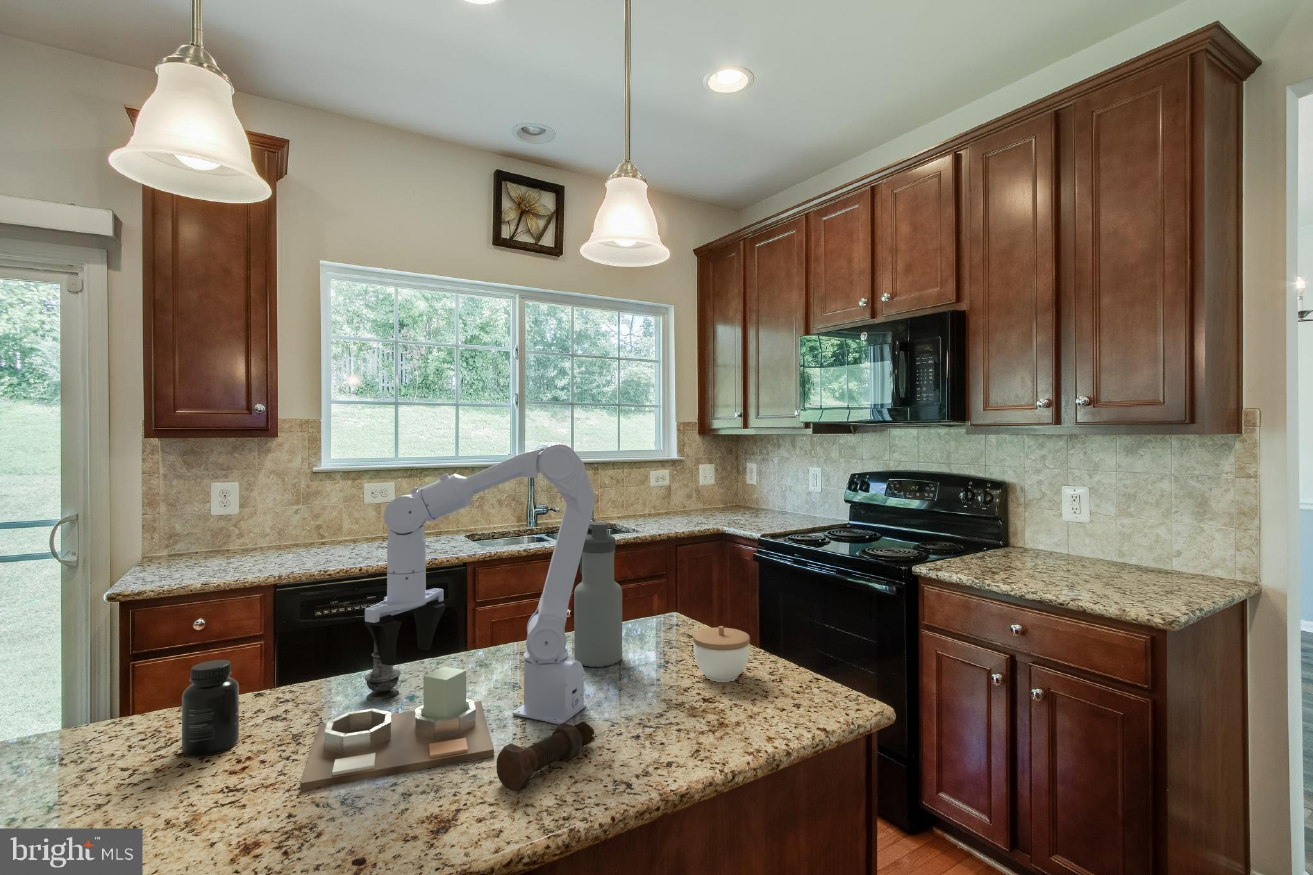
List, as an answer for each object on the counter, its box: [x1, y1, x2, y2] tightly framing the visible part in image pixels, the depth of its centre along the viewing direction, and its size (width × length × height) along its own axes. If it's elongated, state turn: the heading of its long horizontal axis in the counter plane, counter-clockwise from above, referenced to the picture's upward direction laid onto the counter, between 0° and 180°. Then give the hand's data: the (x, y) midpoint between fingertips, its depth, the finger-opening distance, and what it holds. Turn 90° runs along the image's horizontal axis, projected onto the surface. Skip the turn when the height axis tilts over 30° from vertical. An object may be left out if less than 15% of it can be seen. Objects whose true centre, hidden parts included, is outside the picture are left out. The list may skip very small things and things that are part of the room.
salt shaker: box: [364, 640, 402, 703], centre depth 111 cm, size 6×6×12 cm
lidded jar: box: [692, 625, 751, 683], centre depth 119 cm, size 11×11×9 cm
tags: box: [332, 738, 468, 775], centre depth 87 cm, size 17×4×1 cm, turn 111°
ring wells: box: [325, 698, 476, 755], centre depth 94 cm, size 21×9×2 cm, turn 111°
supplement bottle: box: [181, 659, 240, 758], centre depth 92 cm, size 7×7×12 cm
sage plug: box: [423, 666, 467, 720], centre depth 96 cm, size 4×4×8 cm
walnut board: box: [300, 700, 495, 792], centre depth 93 cm, size 24×18×1 cm
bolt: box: [496, 720, 595, 793], centre depth 86 cm, size 6×5×15 cm
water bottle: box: [573, 521, 623, 668], centre depth 129 cm, size 10×10×28 cm
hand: (406, 656), depth 100 cm, fingers open, 7 cm apart
